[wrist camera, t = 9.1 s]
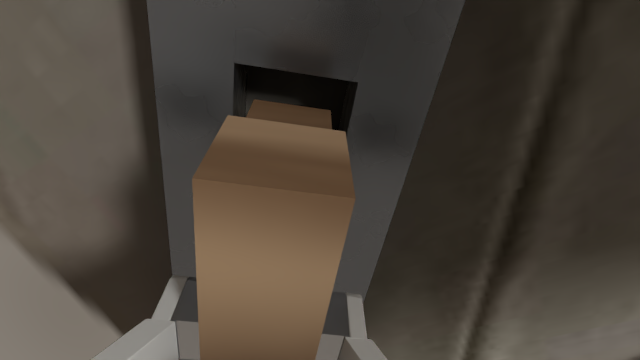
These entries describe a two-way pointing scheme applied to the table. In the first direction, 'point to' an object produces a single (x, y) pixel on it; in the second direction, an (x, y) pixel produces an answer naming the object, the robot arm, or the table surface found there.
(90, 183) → the table surface
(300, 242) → the wooden arch block
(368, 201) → the grey metal slab
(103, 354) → the robot arm
